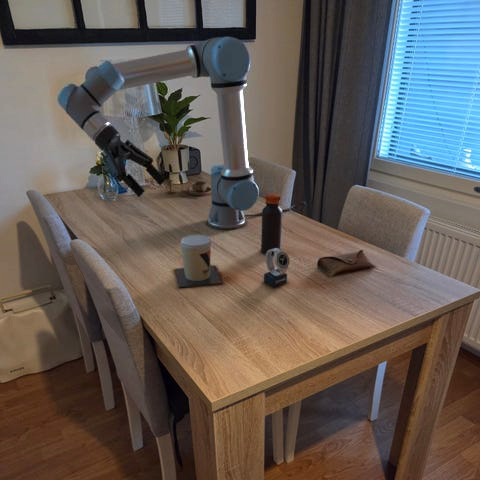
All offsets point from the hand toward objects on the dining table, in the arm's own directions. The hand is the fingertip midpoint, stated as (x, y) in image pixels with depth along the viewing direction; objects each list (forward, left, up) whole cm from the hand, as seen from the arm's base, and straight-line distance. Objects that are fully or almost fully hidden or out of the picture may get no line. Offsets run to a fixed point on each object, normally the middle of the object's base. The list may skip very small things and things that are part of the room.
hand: (152, 188), depth 137 cm
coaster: (-11, +15, -25) cm, 31 cm away
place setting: (-21, -80, -25) cm, 87 cm away
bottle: (-39, 0, -25) cm, 46 cm away
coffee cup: (-11, +14, -24) cm, 30 cm away
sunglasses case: (-60, +18, -25) cm, 67 cm away
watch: (-34, +24, -25) cm, 48 cm away
